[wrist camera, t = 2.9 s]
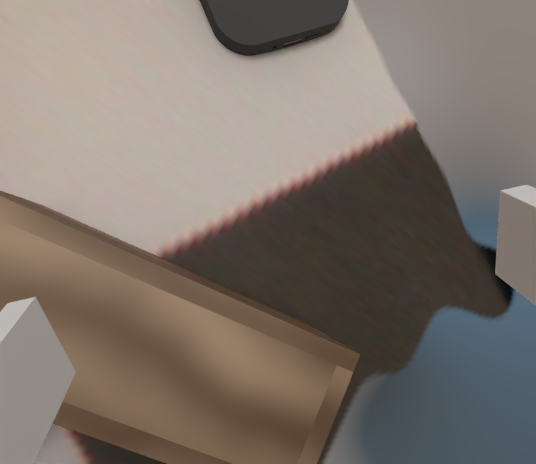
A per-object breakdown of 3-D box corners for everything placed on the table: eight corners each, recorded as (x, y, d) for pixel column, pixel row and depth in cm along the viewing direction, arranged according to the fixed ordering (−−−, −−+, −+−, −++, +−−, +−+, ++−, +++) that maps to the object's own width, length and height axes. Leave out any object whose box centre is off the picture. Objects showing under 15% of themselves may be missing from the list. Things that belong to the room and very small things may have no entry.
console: (257, 416, 37) (298, 510, 24) (-17, 309, 33) (-158, 348, 20) (298, 319, 39) (360, 354, 25) (40, 204, 35) (-54, 171, 21)
